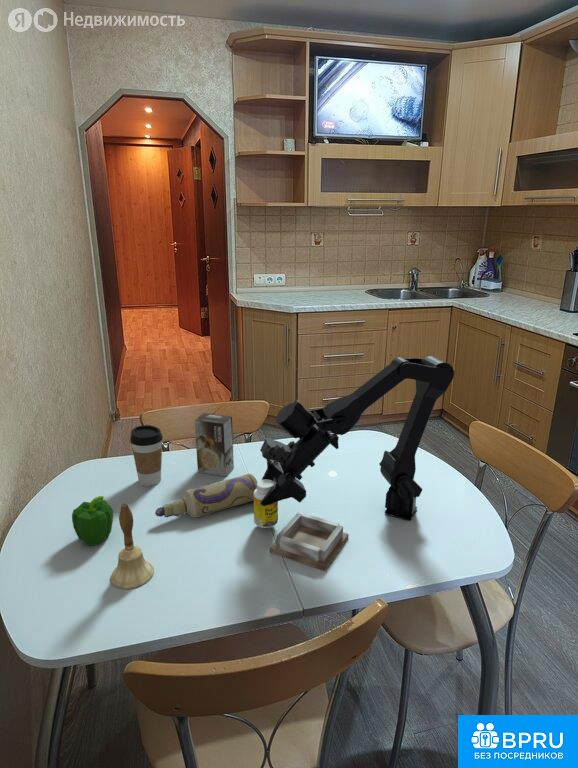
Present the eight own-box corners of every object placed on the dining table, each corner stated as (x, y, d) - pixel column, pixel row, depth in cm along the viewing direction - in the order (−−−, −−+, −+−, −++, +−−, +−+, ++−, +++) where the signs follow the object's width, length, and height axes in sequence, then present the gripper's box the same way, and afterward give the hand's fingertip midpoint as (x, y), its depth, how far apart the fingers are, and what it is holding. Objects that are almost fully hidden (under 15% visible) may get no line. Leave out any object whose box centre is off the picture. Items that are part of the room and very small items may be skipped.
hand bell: (108, 592, 95) (100, 519, 90) (112, 564, 102) (105, 496, 98) (153, 585, 96) (147, 513, 92) (154, 559, 104) (148, 491, 99)
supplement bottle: (265, 532, 112) (264, 492, 108) (249, 522, 115) (248, 483, 112) (283, 522, 115) (282, 483, 112) (267, 513, 119) (266, 474, 116)
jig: (348, 537, 112) (348, 524, 111) (325, 570, 101) (325, 556, 100) (296, 522, 118) (297, 509, 117) (269, 551, 107) (269, 538, 106)
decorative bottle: (248, 491, 132) (248, 468, 130) (261, 504, 126) (261, 481, 124) (151, 516, 120) (149, 491, 118) (160, 532, 114) (158, 507, 112)
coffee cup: (153, 470, 142) (149, 421, 137) (172, 479, 137) (168, 429, 132) (127, 481, 136) (122, 430, 131) (146, 491, 131) (141, 439, 126)
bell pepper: (72, 552, 106) (67, 511, 103) (77, 531, 113) (72, 492, 110) (114, 546, 108) (109, 506, 105) (116, 525, 116) (112, 487, 113)
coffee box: (235, 467, 144) (233, 415, 140) (226, 477, 139) (224, 424, 134) (206, 462, 147) (204, 412, 142) (196, 472, 141) (193, 420, 136)
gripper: (274, 413, 118) (229, 459, 119) (291, 445, 100) (238, 499, 101) (306, 440, 122) (262, 485, 123) (327, 476, 104) (277, 528, 105)
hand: (259, 498), depth 113 cm, fingers closed on supplement bottle, 6 cm apart
